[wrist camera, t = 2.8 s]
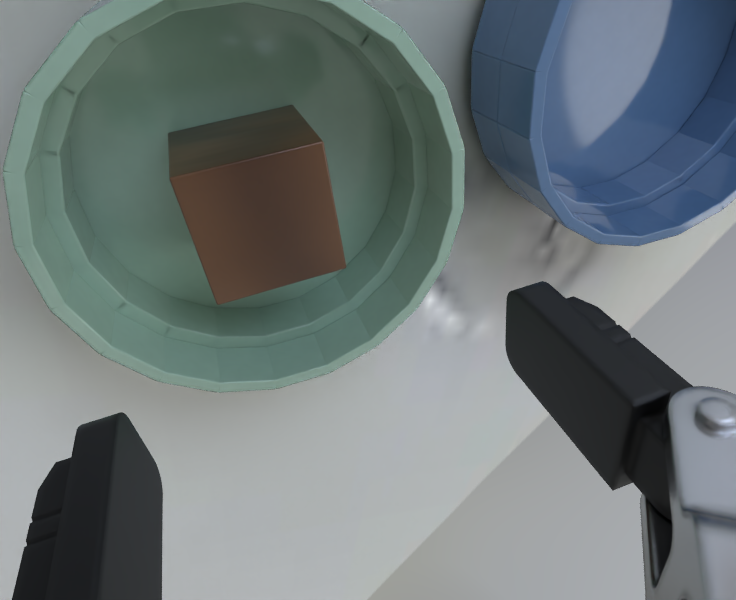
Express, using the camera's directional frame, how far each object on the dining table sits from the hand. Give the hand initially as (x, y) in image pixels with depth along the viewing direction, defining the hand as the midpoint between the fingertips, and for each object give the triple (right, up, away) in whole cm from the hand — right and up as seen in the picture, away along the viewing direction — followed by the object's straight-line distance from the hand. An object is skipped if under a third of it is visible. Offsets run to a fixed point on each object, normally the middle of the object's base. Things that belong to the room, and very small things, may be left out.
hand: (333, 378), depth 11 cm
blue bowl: (+11, +12, +12) cm, 21 cm away
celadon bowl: (-4, +7, +10) cm, 13 cm away
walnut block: (-4, +6, +9) cm, 12 cm away
